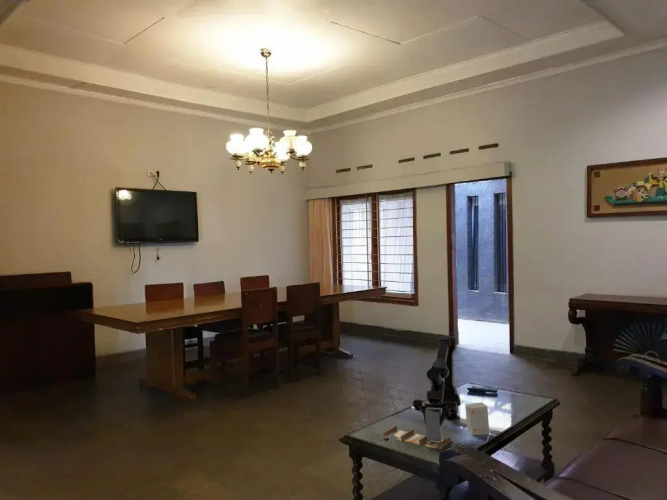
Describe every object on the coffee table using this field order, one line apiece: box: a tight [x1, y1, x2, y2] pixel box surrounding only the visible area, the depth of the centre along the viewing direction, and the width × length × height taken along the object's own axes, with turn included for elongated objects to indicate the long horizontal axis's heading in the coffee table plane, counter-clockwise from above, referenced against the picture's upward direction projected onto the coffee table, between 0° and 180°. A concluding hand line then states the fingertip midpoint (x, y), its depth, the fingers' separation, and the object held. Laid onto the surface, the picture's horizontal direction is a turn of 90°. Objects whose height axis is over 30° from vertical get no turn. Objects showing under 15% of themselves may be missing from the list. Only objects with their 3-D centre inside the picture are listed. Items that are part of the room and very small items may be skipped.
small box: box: [465, 402, 490, 437], centre depth 227 cm, size 8×6×13 cm
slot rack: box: [383, 424, 452, 450], centre depth 224 cm, size 28×10×3 cm, turn 51°
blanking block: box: [425, 408, 444, 442], centre depth 218 cm, size 6×4×12 cm, turn 66°
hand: (433, 424), depth 217 cm, fingers closed on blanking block, 6 cm apart
